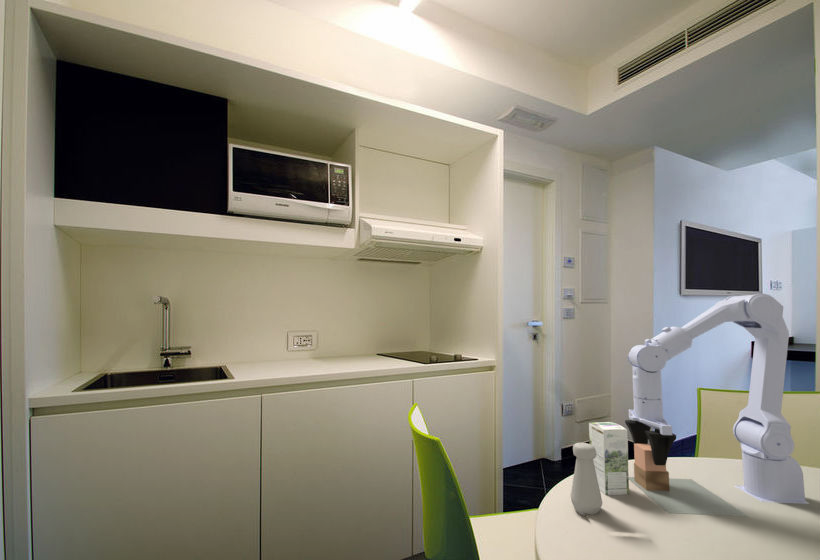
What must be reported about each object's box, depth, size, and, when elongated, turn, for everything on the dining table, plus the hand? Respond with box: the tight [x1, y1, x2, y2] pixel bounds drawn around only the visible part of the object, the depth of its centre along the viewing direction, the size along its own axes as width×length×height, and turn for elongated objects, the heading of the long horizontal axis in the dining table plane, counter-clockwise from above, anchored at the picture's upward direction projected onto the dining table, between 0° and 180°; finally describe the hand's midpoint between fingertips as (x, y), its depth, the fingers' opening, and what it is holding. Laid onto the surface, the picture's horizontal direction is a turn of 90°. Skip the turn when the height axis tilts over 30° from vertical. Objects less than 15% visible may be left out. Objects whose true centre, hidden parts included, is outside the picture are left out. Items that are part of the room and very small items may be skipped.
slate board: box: [629, 476, 749, 517], centre depth 84 cm, size 15×17×1 cm
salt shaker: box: [570, 442, 603, 517], centre depth 78 cm, size 6×6×13 cm
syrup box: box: [588, 421, 630, 496], centre depth 87 cm, size 6×6×14 cm
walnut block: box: [633, 462, 670, 491], centre depth 88 cm, size 5×5×4 cm
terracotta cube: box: [633, 443, 667, 472], centre depth 88 cm, size 4×4×4 cm
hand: (650, 458), depth 88 cm, fingers open, 7 cm apart
